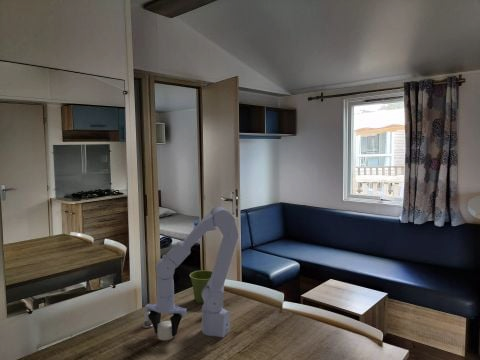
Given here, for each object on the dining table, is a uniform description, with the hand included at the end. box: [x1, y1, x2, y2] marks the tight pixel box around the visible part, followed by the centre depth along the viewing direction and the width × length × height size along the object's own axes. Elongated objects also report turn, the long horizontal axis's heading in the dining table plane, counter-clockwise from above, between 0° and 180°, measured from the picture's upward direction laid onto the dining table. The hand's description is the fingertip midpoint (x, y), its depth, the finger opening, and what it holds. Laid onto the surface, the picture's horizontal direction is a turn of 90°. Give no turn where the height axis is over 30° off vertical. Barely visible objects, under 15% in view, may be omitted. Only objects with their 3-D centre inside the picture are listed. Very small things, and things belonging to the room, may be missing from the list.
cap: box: [157, 320, 175, 341], centre depth 126 cm, size 6×6×4 cm
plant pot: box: [189, 270, 213, 304], centre depth 159 cm, size 12×12×11 cm
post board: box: [126, 311, 192, 345], centre depth 129 cm, size 20×10×6 cm, turn 69°
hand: (166, 333), depth 126 cm, fingers closed on cap, 6 cm apart
